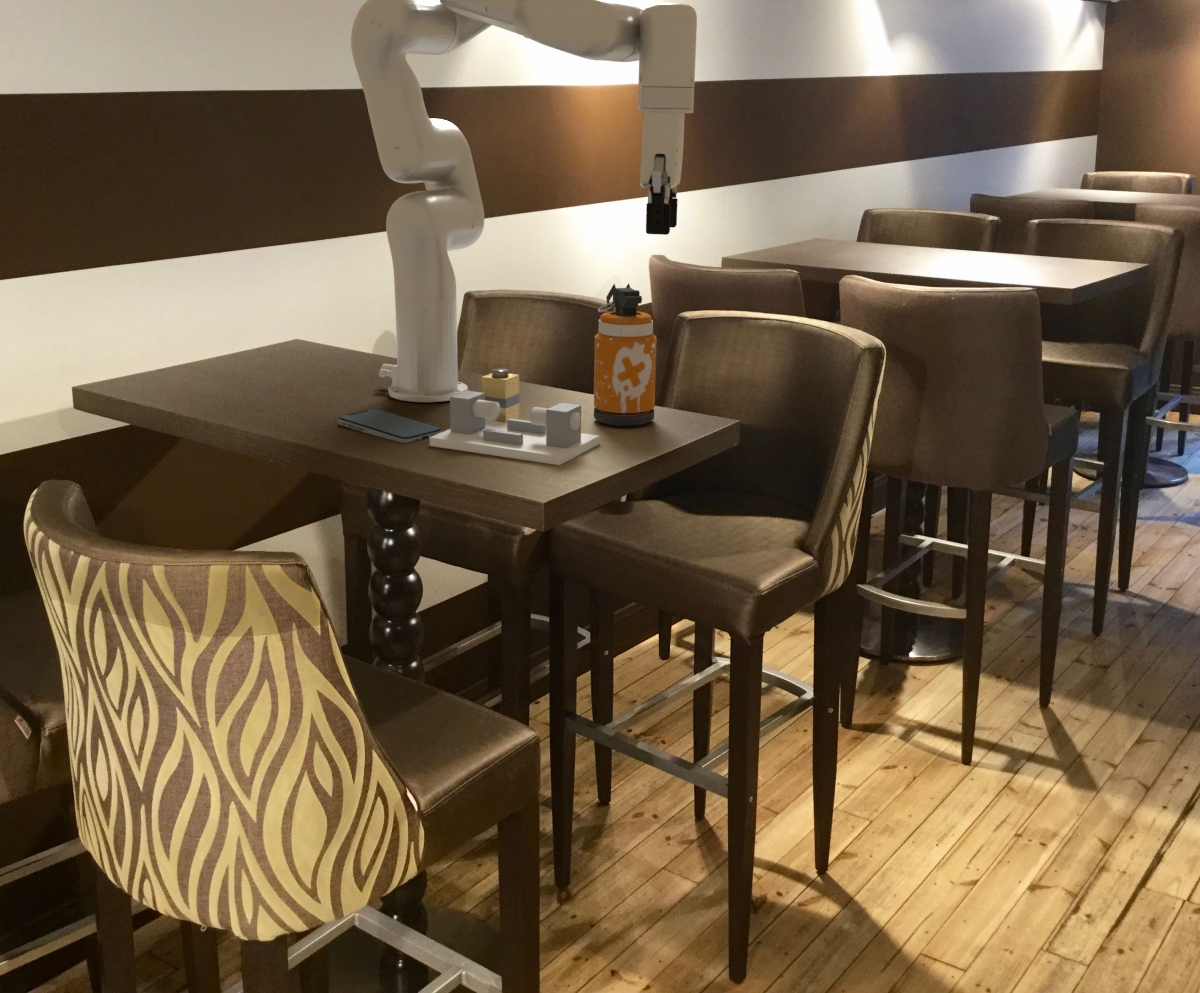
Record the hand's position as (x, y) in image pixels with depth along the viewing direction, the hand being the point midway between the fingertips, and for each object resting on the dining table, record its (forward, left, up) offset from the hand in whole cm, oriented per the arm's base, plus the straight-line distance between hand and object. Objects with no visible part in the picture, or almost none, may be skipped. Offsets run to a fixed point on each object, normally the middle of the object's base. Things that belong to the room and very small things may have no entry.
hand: (661, 230), depth 177 cm
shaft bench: (-13, -18, -28) cm, 36 cm away
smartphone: (-33, -19, -29) cm, 48 cm away
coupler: (-21, -8, -28) cm, 36 cm away
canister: (-6, +2, -29) cm, 29 cm away
